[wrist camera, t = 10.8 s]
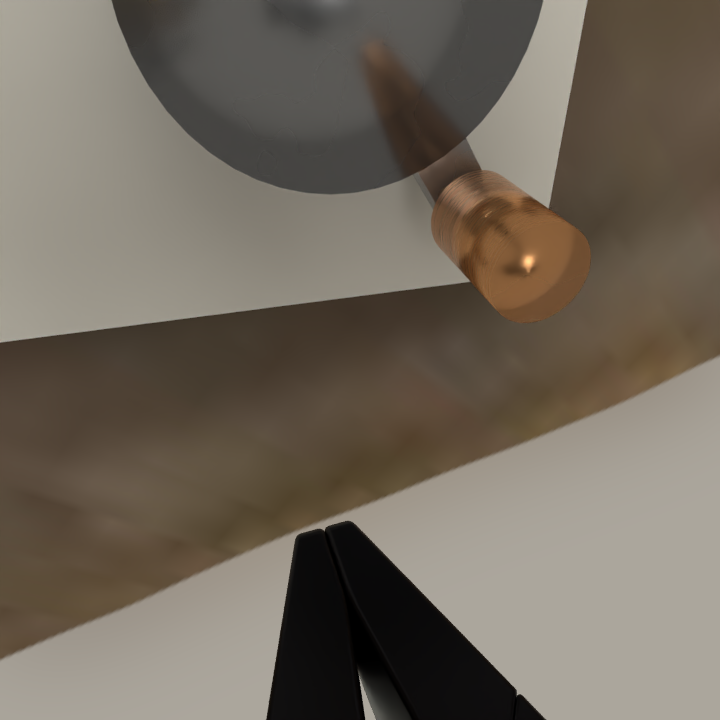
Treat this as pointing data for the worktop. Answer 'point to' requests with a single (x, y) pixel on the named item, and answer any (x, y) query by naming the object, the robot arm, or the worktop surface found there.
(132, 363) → the worktop surface
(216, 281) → the stand
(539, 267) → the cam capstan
